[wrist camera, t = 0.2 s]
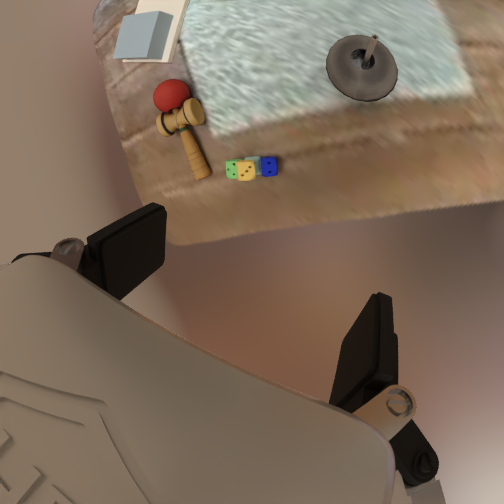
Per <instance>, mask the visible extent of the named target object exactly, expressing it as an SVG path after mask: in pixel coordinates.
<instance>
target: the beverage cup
mask: <svg viewBox="0 0 504 504" xmlns="http://www.w3.org/2000/svg"><path fill="white" fill-rule="evenodd" d="M326 70H327V73H328V76H329V79H330V80H331V82H332V83H333V84H334V86H335V87H336V88H337V89H338V90H339V91H340V92H342V93H343V94H344V95H346V96H348V97H350V98H352V99H354V100H359V101H365V102H369V101H377V100H379V99H381V98H384V97H386V96H387V95H388V94H389V93H390V92H391V91H392V90H393V89H394V87H395V84H396V82H397V77H398V69H397V66H396V63H395V60H394V57H393V55H392V54H391V53H390V51H389V50H388V48H387V47H385V46H384V45H383V44H382V43H380V42H379V41H378V36H377V35H375V34H374V35H372V37H369V36H363V35H351V36H346V37H344V38H342V39H340V40H338V41H337V42H336V43H335V44H334V45H333V46H332V47H331V49H330V51H329V54H328V56H327V58H326Z"/></svg>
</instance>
